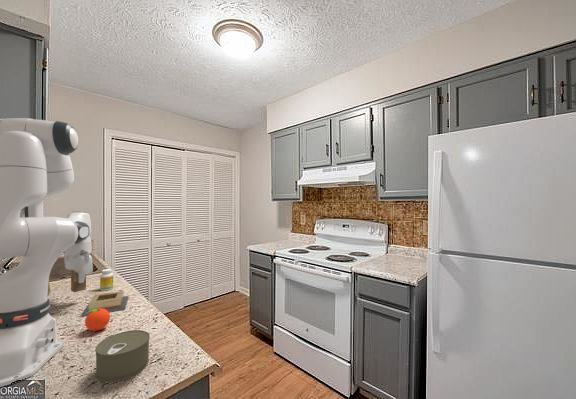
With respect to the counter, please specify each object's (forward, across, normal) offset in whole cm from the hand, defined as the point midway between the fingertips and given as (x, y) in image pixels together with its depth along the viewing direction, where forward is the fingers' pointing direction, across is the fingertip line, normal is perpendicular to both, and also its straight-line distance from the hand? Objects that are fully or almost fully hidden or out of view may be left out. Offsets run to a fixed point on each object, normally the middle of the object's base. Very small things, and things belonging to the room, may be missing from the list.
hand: (78, 281), depth 110 cm
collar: (+9, -14, -5) cm, 18 cm away
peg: (+4, 0, 0) cm, 4 cm away
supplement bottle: (+9, +10, -15) cm, 20 cm away
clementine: (+10, -33, +5) cm, 35 cm away
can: (+10, -62, +10) cm, 64 cm away
